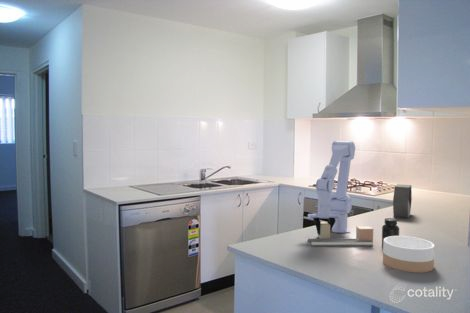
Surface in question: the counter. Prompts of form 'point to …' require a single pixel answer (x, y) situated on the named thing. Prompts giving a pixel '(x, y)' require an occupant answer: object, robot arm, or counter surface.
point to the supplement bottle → (390, 228)
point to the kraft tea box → (324, 230)
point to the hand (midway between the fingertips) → (323, 234)
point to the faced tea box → (364, 233)
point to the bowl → (408, 253)
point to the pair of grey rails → (339, 242)
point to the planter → (402, 201)
